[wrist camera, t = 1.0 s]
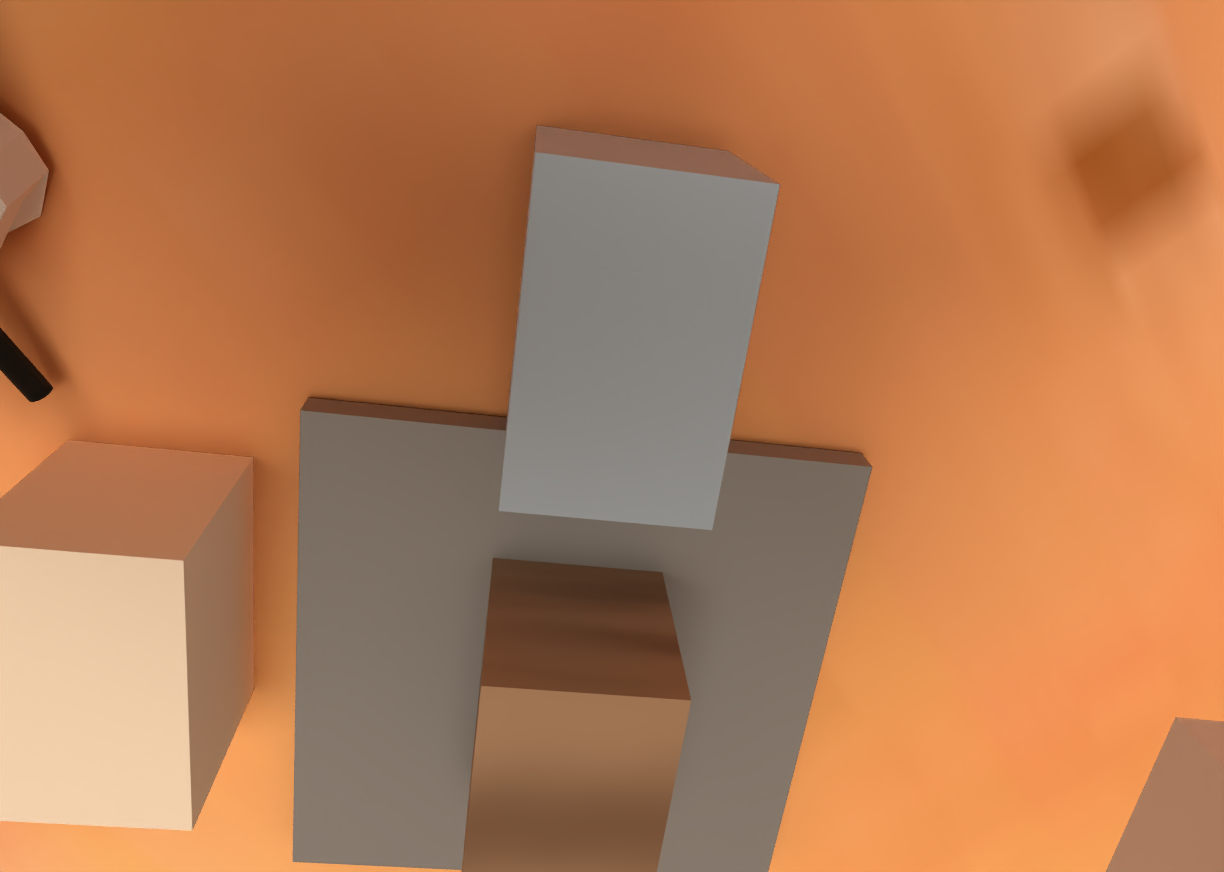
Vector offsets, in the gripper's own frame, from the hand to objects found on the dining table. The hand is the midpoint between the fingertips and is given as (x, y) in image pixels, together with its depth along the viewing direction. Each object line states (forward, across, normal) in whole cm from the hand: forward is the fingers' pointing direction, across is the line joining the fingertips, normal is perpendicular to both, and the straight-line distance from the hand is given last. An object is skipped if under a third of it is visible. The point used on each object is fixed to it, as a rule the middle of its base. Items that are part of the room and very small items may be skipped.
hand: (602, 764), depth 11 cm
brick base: (+16, +1, -11) cm, 20 cm away
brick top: (+17, +1, +1) cm, 17 cm away
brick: (+18, -11, -9) cm, 22 cm away
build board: (+17, +1, -11) cm, 20 cm away
